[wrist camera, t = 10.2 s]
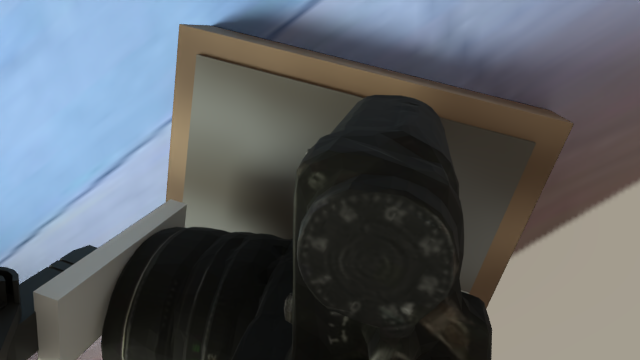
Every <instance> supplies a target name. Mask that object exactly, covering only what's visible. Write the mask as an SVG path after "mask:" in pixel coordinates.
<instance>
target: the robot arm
mask: <svg viewBox="0 0 640 360" xmlns="http://www.w3.org/2000/svg"><path fill="white" fill-rule="evenodd" d="M186 209H187V204H184V203H181V202H178V201H175V200H172V199H170V200H168V201H167V202H166V203H164V204H163V205H161V206H160V207H158V208H157V209H155V210H154V211H152V212H151V213H149V214H148V215H146V216H145V217H143V218H142V219H140V220H139V221H137V222H136V223H134V224H133V225H131V226H130V227H128V228H127V229H125V230H124V231H122V232H121V233H119V234H118V235H117V236H115V237H114V238H112V239H111V240H109V241H108V242H106V243H105V244H103V245H102V246H100V247H99V248H96V247H93V246H90V245H89V246H86V247H82V248H79V249H76V250H73V251H72V252H70V253H69V254H67V255H65V256H64V257H62V258H61V259H60V260H59V261H58V260H57V261H56V262H54V263H53V264H51V265H50V266H49V267H46V268H45V269H43V270H42V271H40V272H38V273H37V274H35V275H34V276H32V277H31V278H29V279H27V280H26V281H24V282H23V283H21V284H20V285H19V277H18V274H17V273H16V272H15V270H12V269H10V268H7V267H0V360H27V359H28V358H30V357H31V356H32V355H33V354H34V353H35V352H37V351H38V360H76V359H77V358H78V357H79V356H80V355H81V354H82V353H83V352H85V351H86V350H87V349H88V348H89V347H90V346H91V345H92V344H93V343H94V342H95V341H96V340H97V339H98V338H99V337H100V336H101V335H102V330H103V325H104V320H105V316H106V313H107V309H108V305H109V302H110V298H111V295H112V292H113V290H114V287H115V285H116V282H117V279H118V277H119V276H120V274H121V272H122V270H123V269H124V267H125V265H126V264H127V262H128V261H129V260H130V258H131V257H132V255H133V254H134V253H135V251H136V250H137V249H138V247H139V246H140V245H141V244H142V243H143V242H144V241H145V240H147V239H148V238H149V237H151V236H152V235H154V234H155V233H157V232H159V231H161V230H163V229H168V228H173V227H184V228H185V219H186ZM462 292H464V291H462ZM465 293H467V292H465ZM468 294H469V293H468Z"/></svg>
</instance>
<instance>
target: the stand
mask: <svg viewBox="0 0 640 360" xmlns="http://www.w3.org/2000/svg"><path fill="white" fill-rule="evenodd" d="M372 95H402V96H406V97H411V98H415V99H417V100H420V101H422V102H424V103H426V104H427V105H429V106H430V107H432V108H433V110H434V111H435V112H436V113H437V114H438V116H439V117H440V120H441V122H442V124H443V127H444V129H445V135H446V139H447V142H448V146H449V152H450V155H451V159H452V162H453V166H454V170H455V173H456V176H457V179H458V182H459V199H460V201H461V206H462V212H463V220H464V256H463V261H462V267H461V272H460V278H459V279H460V286H461V291H464V292H467V293H469V294H470V295H473V296H476V297H478V298H480V299H481V300H482V301H483V302H484V303H485V307H486V308H487V306H488V303H489V301H490V299H491V297H492V295H493V293H494V291H495V289H496V286H497V285H498V282H499V280H500V278H501V276H502V274H503V272H504V270H505V268H506V266H507V264H508V261H509V259H510V257H511V255H512V253H513V251H514V249H515V247H516V245H517V242H518V240H519V238H520V236H521V234H522V232H523V230H524V228H525V226H526V224H527V221H528V219H529V217H530V215H531V213H532V211H533V209H534V207H535V205H536V202H537V200H538V198H539V196H540V194H541V192H542V190H543V188H544V186H545V183H546V181H547V179H548V177H549V175H550V173H551V171H552V169H553V167H554V164H555V162H556V160H557V158H558V156H559V154H560V152H561V150H562V148H563V146H564V143H565V141H566V139H567V137H568V135H569V133H570V131H571V129H572V127H573V123H572V122H570V121H568V120H566V119H565V118H563V117H561V116H559V115H558V114H556V113H554V112H552V111H550V110H546V109H542V108H538V107H534V106H530V105H526V104H522V103H518V102H514V101H510V100H506V99H502V98H498V97H494V96H490V95H486V94H482V93H478V92H474V91H470V90H466V89H462V88H458V87H454V86H450V85H446V84H442V83H438V82H434V81H430V80H426V79H422V78H418V77H414V76H410V75H406V74H402V73H398V72H394V71H390V70H386V69H382V68H378V67H374V66H370V65H366V64H362V63H358V62H354V61H350V60H346V59H343V58H339V57H335V56H331V55H327V54H323V53H319V52H315V51H311V50H307V49H303V48H299V47H295V46H291V45H287V44H283V43H279V42H275V41H271V40H267V39H263V38H259V37H255V36H251V35H247V34H243V33H239V32H235V31H231V30H227V29H223V28H219V27H215V26H209V25H186V24H179V37H178V50H177V63H176V76H175V89H174V102H173V115H172V128H171V141H170V154H169V167H168V181H167V194H166V202H167V201H168V200H170V199H172V200H175V201H178V202H181V203H184V204H187V209H186V219H185V228H189V227H206V228H213V229H219V230H224V231H227V232H231V233H232V232H251V233H255V234H259V233H263V234H272V235H275V236H277V237H280V238H283V239H292V238H293V203H294V188H295V178H296V170H297V168H298V166H299V165H300V163H301V161H302V160H303V158H304V157H305V155H306V153H307V150H308V149H310V148H312V147H313V146H314V145H315V144H316V143H317V141H318V140H319V139H320V138H321V137H323V136H325V135H328V134H330V133H331V132H332V131H333V130H334V129H335V128H336V126H337V125H338V124H339V123H340V122H341V121H342V120H343V119H344V117H345V116H346V115H347V114H348V113H349V111H350V110H351V109H352V108H353V107H354V106H355V105H356V103H357V102H358V101H360V100H362V99H364V98H366V97H368V96H372Z"/></svg>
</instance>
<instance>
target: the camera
mask: <svg viewBox="0 0 640 360" xmlns="http://www.w3.org/2000/svg"><path fill="white" fill-rule="evenodd" d="M463 256H464V220H463V212H462V206H461V201H460V199H459V182H458V179H457V176H456V173H455V170H454V166H453V162H452V159H451V155H450V152H449V146H448V142H447V139H446V135H445V129H444V127H443V124H442V122H441V120H440V117H439V116H438V114H437V113H436V112H435V111H434V110H433V108H432V107H430V106H429V105H427V104H426V103H424V102H422V101H420V100H417V99H415V98H411V97H406V96H402V95H372V96H368V97H366V98H364V99H362V100H360V101H358V102H357V103H356V105H355V106H354V107H353V108H352V109H351V110H350V111H349V113H348V114H347V115H346V116H345V117H344V119H343V120H342V121H341V122H340V123H339V124H338V125H337V126H336V128H335V129H334V130H333V131H332V132H331V133H330V134H328V135H325V136H323V137H321V138H320V139H319V140H318V141H317V143H316V144H315V145H314V146H313V147H312V148H310V149H308V150H307V153H306V155H305V157H304V158H303V160H302V161H301V163H300V165H299V166H298V168H297V170H296V178H295V188H294V203H293V238H292V239H283V238H280V237H277V236H275V235H272V234H263V233H259V234H255V233H251V232H232V233H231V232H227V231H224V230H219V229H213V228H206V227H189V228H184V227H173V228H168V229H163V230H161V231H159V232H157V233H155V234H154V235H152V236H151V237H149V238H148V239H147V240H145V241H144V242H143V243H142V244H141V245H140V246H139V247H138V249H137V250H136V251H135V253H134V254H133V255H132V257H131V258H130V260H129V261H128V262H127V264H126V265H125V267H124V269H123V270H122V272H121V274H120V276H119V277H118V279H117V282H116V285H115V287H114V290H113V292H112V295H111V298H110V302H109V305H108V309H107V313H106V316H105V320H104V325H103V330H102V341H101V348H102V358H103V360H491V345H492V343H491V342H492V328H491V324H490V321H489V317H488V314H487V311H486V307H485V303H484V302H483V301H482V300H481V299H480V298H478V297H476V296H473V295H470V294H468V293H465V292H462V291H461V286H460V279H459V278H460V272H461V267H462V261H463Z"/></svg>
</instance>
